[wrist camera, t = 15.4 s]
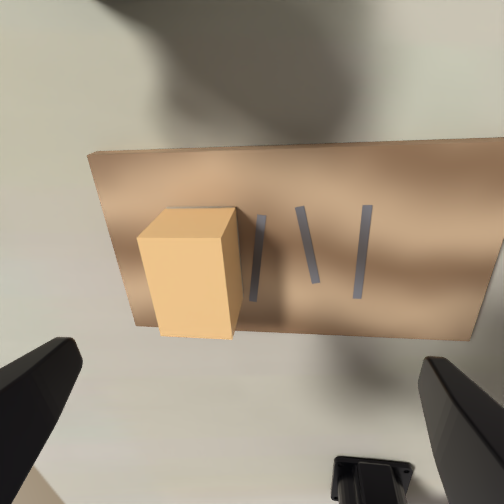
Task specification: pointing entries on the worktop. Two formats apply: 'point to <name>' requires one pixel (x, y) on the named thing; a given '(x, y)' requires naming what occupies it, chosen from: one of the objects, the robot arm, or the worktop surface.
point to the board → (328, 229)
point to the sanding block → (194, 271)
